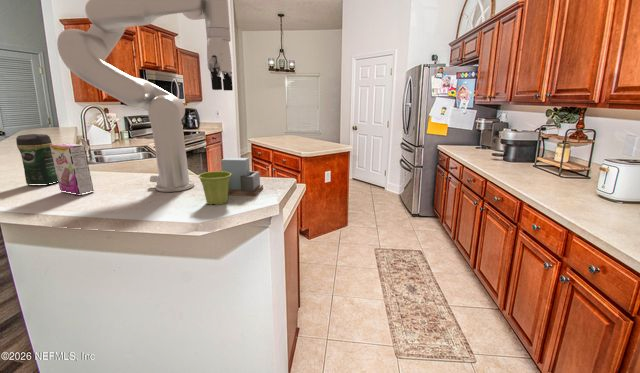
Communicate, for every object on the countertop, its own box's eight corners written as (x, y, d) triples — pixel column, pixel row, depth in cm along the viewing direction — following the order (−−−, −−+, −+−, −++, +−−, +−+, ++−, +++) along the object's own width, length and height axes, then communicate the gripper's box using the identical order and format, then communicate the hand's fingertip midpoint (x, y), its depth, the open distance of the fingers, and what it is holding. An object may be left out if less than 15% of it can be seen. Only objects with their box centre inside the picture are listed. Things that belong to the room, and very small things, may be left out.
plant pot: (224, 195, 106) (222, 169, 104) (238, 202, 99) (236, 174, 97) (196, 201, 100) (193, 174, 98) (209, 209, 93) (206, 179, 91)
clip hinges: (214, 190, 107) (212, 175, 106) (223, 184, 115) (221, 170, 113) (253, 191, 106) (252, 176, 105) (260, 185, 113) (259, 171, 112)
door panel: (223, 189, 109) (221, 159, 106) (228, 186, 113) (225, 157, 110) (247, 189, 108) (245, 160, 106) (250, 186, 112) (248, 157, 109)
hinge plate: (211, 194, 107) (211, 191, 107) (221, 187, 116) (221, 184, 115) (255, 195, 106) (255, 192, 105) (263, 188, 114) (262, 184, 114)
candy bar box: (59, 192, 110) (48, 144, 106) (75, 189, 114) (65, 142, 110) (79, 196, 106) (68, 146, 101) (95, 192, 110) (85, 144, 106)
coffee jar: (65, 181, 125) (54, 132, 120) (47, 187, 118) (35, 135, 113) (41, 181, 126) (30, 132, 121) (22, 186, 118) (9, 135, 113)
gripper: (217, 40, 115) (222, 90, 120) (195, 30, 99) (201, 89, 103) (238, 40, 115) (241, 90, 119) (219, 30, 98) (223, 89, 102)
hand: (222, 90), depth 111 cm, fingers open, 9 cm apart
